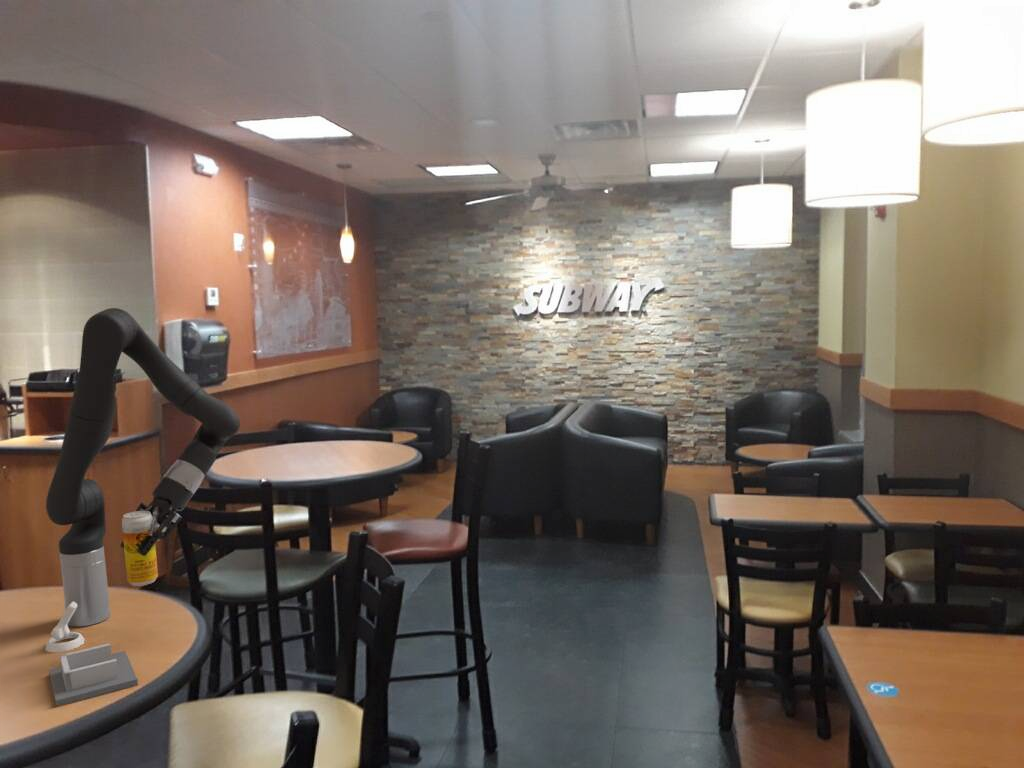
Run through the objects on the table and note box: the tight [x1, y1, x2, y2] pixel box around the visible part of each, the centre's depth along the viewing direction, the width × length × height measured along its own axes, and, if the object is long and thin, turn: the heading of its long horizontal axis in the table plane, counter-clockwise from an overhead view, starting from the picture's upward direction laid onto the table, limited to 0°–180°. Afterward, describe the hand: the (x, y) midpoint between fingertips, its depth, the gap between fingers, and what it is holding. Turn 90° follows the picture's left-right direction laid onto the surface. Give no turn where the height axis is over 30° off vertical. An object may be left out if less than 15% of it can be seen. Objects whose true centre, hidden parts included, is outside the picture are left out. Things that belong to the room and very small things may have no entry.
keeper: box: [48, 643, 139, 708], centre depth 163 cm, size 16×14×5 cm
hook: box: [44, 602, 86, 653], centre depth 180 cm, size 8×12×7 cm
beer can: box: [121, 510, 159, 587], centre depth 177 cm, size 6×6×15 cm
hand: (132, 550), depth 175 cm, fingers closed on beer can, 6 cm apart
